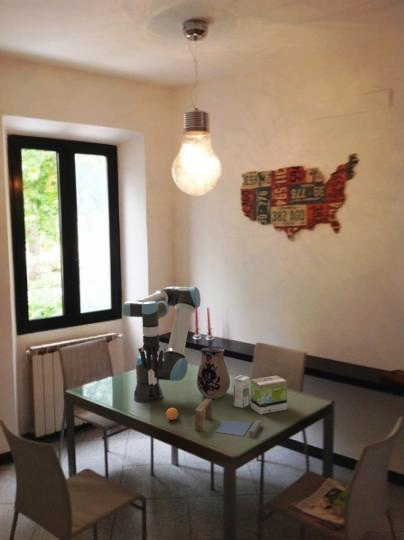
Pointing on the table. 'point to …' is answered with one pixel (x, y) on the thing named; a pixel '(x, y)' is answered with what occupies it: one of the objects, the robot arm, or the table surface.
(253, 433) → the stopper
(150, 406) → the table surface
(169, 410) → the ball
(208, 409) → the bridge
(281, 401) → the tea box
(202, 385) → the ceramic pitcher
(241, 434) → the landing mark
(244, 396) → the syrup box
